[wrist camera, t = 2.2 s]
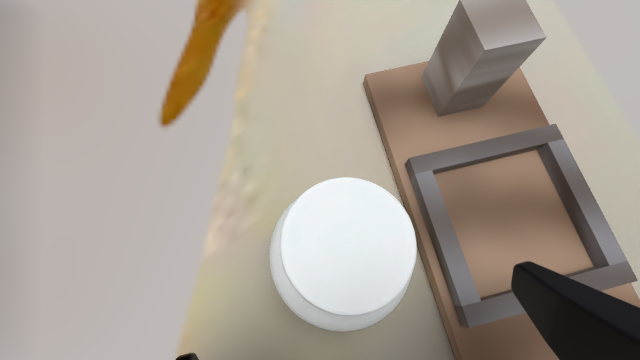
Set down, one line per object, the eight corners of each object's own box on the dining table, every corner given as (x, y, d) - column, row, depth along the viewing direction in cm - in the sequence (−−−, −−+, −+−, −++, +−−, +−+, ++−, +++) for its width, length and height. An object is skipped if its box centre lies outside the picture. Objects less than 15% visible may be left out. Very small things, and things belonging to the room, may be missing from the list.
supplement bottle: (342, 338, 17) (371, 395, 8) (265, 274, 18) (213, 262, 9) (398, 255, 19) (476, 225, 10) (323, 200, 20) (329, 124, 11)
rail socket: (678, 410, 16) (926, 496, 10) (492, 470, 16) (623, 607, 9) (500, 54, 23) (574, -40, 16) (363, 83, 22) (383, -4, 15)
